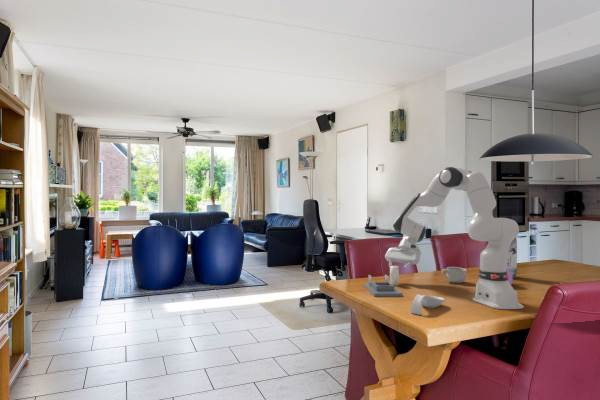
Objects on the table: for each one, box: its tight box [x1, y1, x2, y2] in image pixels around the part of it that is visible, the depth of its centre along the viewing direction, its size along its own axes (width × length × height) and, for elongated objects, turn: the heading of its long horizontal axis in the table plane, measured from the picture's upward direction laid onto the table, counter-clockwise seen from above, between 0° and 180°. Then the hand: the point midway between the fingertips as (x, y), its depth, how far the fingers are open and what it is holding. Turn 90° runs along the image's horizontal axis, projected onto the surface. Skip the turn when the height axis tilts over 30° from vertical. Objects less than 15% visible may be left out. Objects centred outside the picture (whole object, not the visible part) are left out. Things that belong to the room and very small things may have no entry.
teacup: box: [441, 266, 467, 284], centre depth 234 cm, size 14×11×8 cm
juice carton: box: [506, 237, 518, 280], centre depth 250 cm, size 9×10×27 cm
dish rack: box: [363, 274, 404, 298], centre depth 211 cm, size 24×14×6 cm, turn 4°
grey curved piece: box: [410, 293, 445, 316], centre depth 178 cm, size 24×12×7 cm, turn 144°
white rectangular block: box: [389, 265, 400, 286], centre depth 227 cm, size 5×5×10 cm
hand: (397, 267), depth 229 cm, fingers open, 8 cm apart
